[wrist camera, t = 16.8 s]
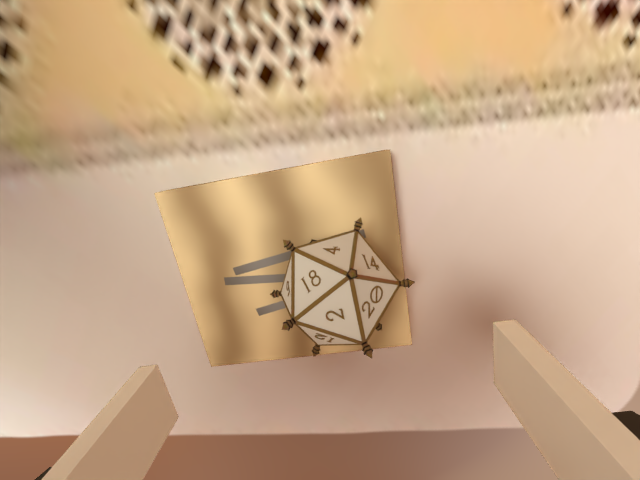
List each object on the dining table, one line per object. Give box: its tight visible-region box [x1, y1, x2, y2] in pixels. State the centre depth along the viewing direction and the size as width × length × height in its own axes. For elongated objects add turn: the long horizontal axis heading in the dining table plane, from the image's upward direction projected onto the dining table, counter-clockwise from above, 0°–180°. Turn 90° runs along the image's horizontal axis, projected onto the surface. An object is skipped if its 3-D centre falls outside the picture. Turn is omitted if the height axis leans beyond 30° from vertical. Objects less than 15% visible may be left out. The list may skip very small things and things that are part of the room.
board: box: [154, 150, 412, 367], centre depth 25 cm, size 18×16×2 cm
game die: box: [270, 217, 415, 358], centre depth 20 cm, size 9×8×10 cm
